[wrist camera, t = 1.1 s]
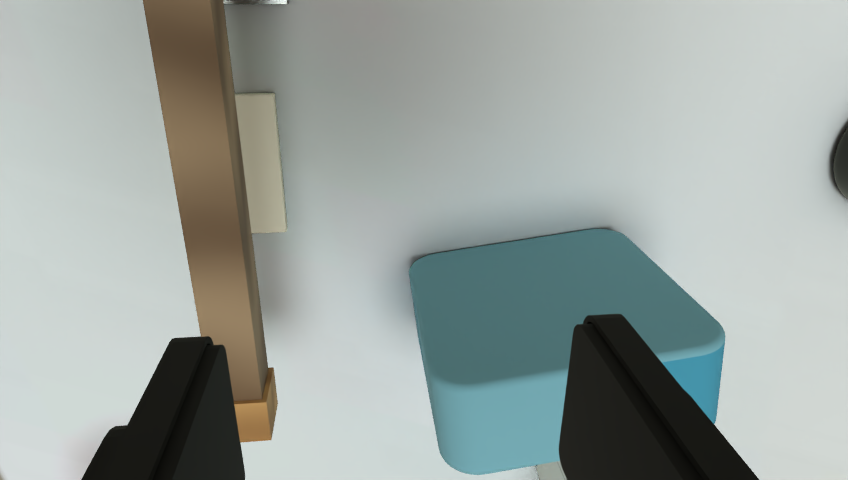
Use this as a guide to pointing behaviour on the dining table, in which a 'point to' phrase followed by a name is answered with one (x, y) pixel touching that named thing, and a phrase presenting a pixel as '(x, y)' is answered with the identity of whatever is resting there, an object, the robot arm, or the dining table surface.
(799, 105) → the dining table surface
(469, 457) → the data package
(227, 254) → the swing bar
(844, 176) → the supplement bottle
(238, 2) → the post
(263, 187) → the label tile
